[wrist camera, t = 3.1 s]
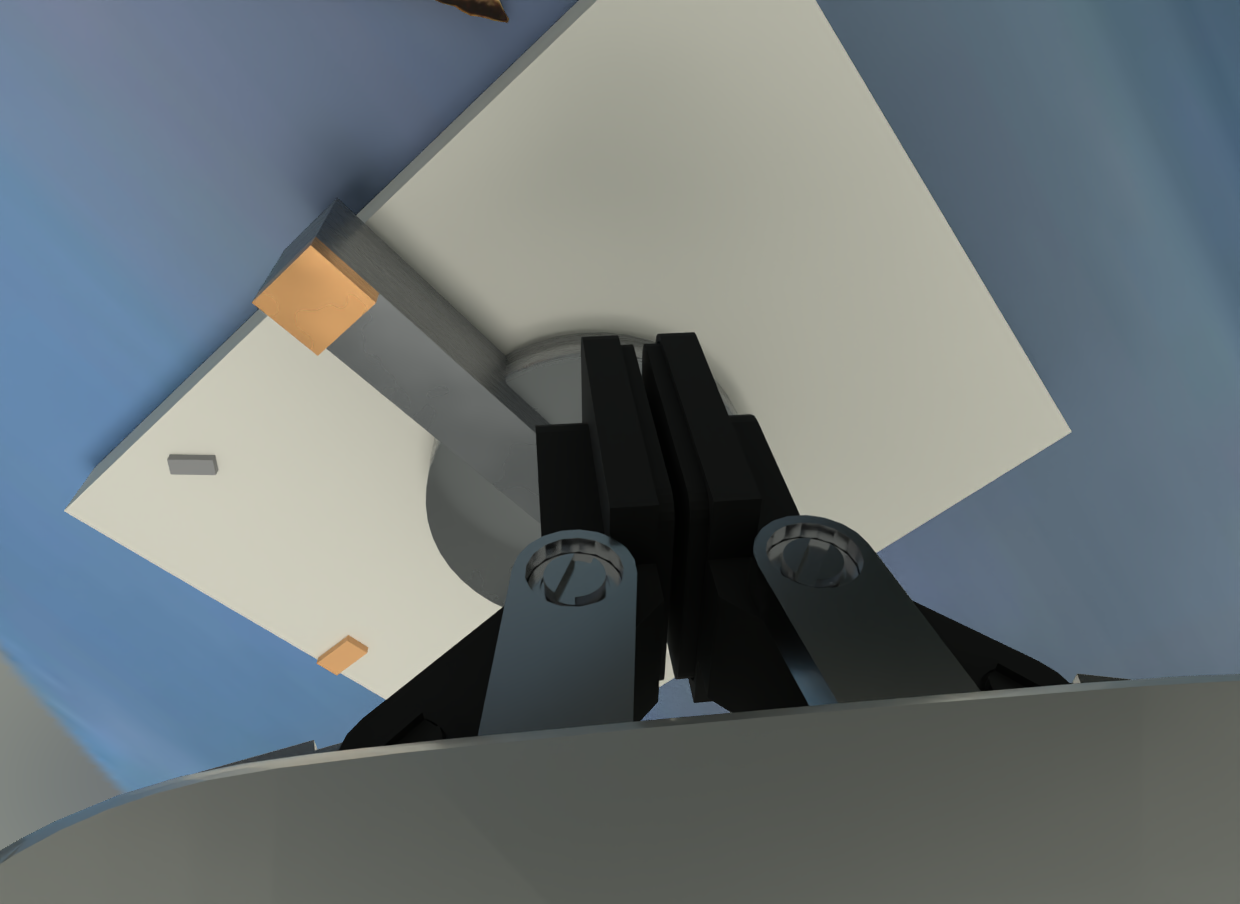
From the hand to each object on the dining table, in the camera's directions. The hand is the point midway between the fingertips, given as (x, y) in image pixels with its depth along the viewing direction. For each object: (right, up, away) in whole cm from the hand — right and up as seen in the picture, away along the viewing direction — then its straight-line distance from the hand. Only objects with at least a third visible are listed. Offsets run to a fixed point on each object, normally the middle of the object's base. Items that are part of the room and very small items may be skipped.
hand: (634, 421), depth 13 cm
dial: (-3, +1, +15) cm, 15 cm away
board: (-1, 0, +19) cm, 19 cm away
